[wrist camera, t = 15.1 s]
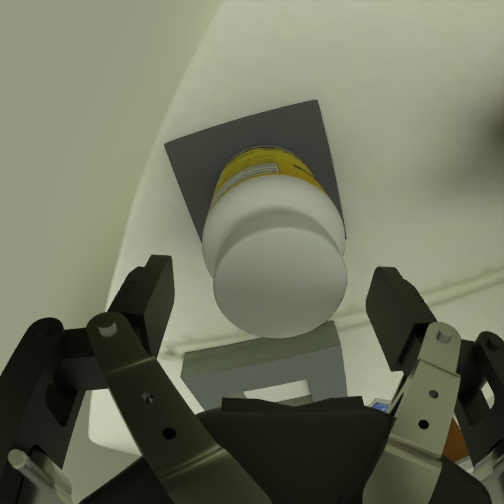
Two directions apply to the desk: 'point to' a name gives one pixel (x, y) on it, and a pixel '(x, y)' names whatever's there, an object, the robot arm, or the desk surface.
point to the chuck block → (268, 367)
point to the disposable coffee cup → (457, 448)
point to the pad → (244, 137)
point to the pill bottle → (274, 245)
